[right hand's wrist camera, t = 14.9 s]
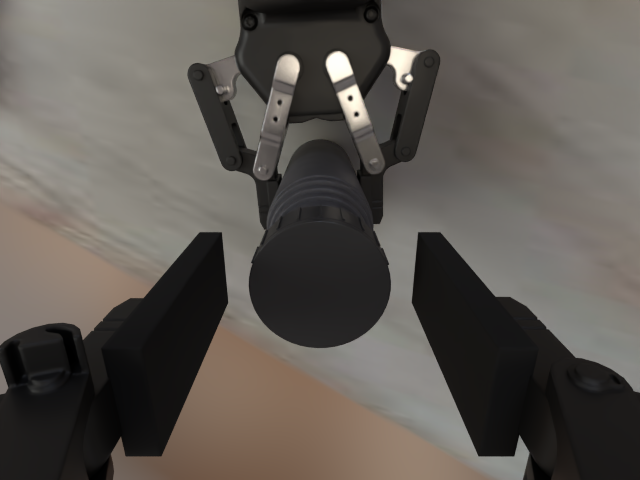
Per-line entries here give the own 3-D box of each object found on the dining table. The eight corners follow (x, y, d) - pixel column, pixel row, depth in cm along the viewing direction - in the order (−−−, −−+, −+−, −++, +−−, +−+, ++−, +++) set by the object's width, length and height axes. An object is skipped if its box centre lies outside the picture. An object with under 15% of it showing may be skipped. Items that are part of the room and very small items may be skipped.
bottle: (305, 127, 30) (284, 182, 12) (362, 157, 30) (422, 251, 13) (278, 185, 31) (222, 309, 13) (333, 212, 32) (349, 364, 14)
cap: (249, 311, 15) (240, 338, 13) (264, 193, 13) (256, 208, 12) (368, 328, 15) (374, 358, 14) (397, 215, 14) (407, 232, 12)
